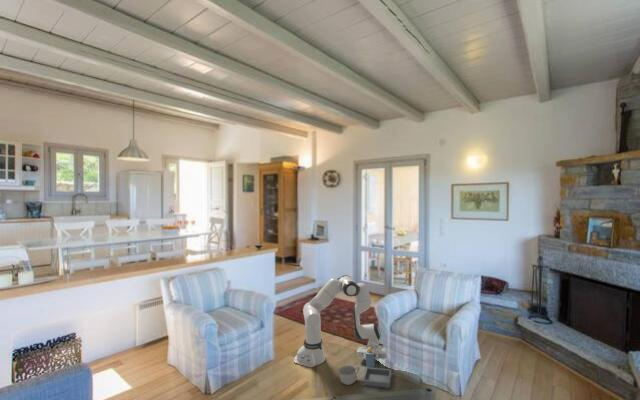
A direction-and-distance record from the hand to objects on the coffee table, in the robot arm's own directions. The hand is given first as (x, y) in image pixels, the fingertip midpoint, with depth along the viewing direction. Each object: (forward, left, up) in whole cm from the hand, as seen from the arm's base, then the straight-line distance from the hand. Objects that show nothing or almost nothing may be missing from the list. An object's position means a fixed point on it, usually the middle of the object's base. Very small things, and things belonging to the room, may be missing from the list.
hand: (370, 359), depth 212 cm
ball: (0, +1, +6) cm, 6 cm away
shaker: (0, +1, -6) cm, 6 cm away
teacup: (-11, -17, -6) cm, 21 cm away
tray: (+6, -13, -6) cm, 15 cm away
